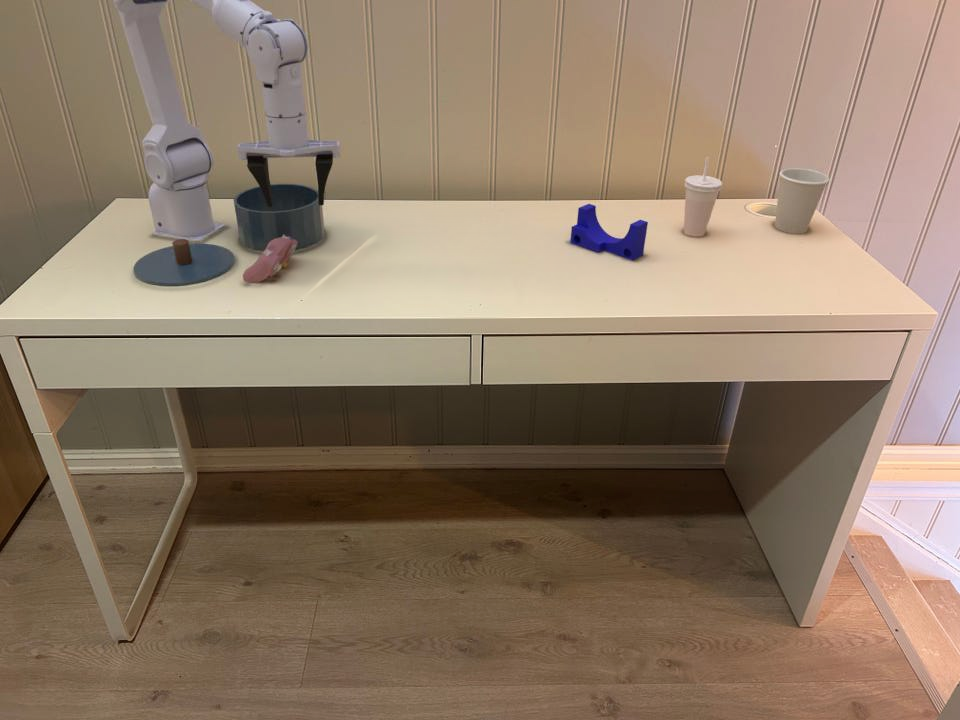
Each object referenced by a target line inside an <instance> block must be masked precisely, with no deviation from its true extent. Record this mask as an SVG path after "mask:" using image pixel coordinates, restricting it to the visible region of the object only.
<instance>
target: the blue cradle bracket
mask: <svg viewBox="0 0 960 720" xmlns="http://www.w3.org/2000/svg"><path fill="white" fill-rule="evenodd" d="M648 224H649V222H648V221H646V220H642V219H639V220H636V221H634V222H631V223H630V224H629V227H628V228H629V229H628V231H627V233H626V234H625V236H624V237H622V238H621V237H615V236H613V235H611V234H609V233H607V232H606V231H605V229H603V227H602V226H601V224H600V222H599V220H598V217H597V207H596V205H594V204H591V203H587V204H584V205H582V206H579V207H578V209H577V219H576V224H574V225H572V226H571V231H570V241H569V243H570V244H572V245H575V246H579V247H581V248H584V249H587V250H590V251H593V252H595V253H597V254H599V253H601V252H603V251H604V252H607V253H610V254H613V255H616V256H619V257H622V258H625V259H627V260H631V261H635V260H637V259H639V258H641V257H643V256H644V252H645V251H644V250H645V245H646V238H647V233H648V232H647V231H648Z"/></svg>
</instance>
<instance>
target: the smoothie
mask: <svg viewBox="0 0 960 720" xmlns="http://www.w3.org/2000/svg"><path fill="white" fill-rule="evenodd" d="M704 161H705V162H704V168H703V173H702V175H698V174H697V175H689V176H687V177H686V178H685V179H684V183H683V185H684V187H685V199H684V217H683V219H684V220H683V233H684V234H685V235H686V236H689V237H693V238H694V237H696V238H698V237H704V236H705V234H706V231H707V228H708V226H709V222H710V219H711V216H712V213H713V210H714V207H715V204H716V201H717V198H718V195H719V192H720V191H721V190H722V187H723V182H722V181H721V180H720V179H719V178H717V177H713V176H708V175H707V174H708V168H709V163H710V156H706V157H705V160H704Z"/></svg>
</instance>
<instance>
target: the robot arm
mask: <svg viewBox="0 0 960 720" xmlns="http://www.w3.org/2000/svg"><path fill="white" fill-rule="evenodd" d="M171 1H172V0H112V2H113V5H114V8H115V10H117V11H118V12H117V13H118V15H119V18H120V22H121V25H122V29H123V32H124V36H125V39H126V42H127V46H128V48H129V52H130V55H131V57H132V63H133V65H134V68H135V72H136V76H137V78H138V82H139V85H140V88H141V89H140V90H141V91H142V92H141V93H142V95H143V99H144V102H145V105H146V108H147V112H148V115H149V118H150V122H151V125H152V126H151V128H150V129H149V131H148V132H147V134H146V135H145V136H144V138H143V139H142V141H141V146H142V148H143V149H142V150H143V154H144V160H143V161H144V163H143V164H144V168H145V171H146V174H147V175H148V177H149V178H150V180H151V181H152V184H151V185H150V186H149V187H150V188H149V190H148V203H149V209H150V213H151V217H152V221H153V226H154V230H155V231H153V232H152V234H153V235H158V236H165V237H171V238H177V239H186V240H191V241H197V242H198V241H201V240H203V239H204V238H206V237H208V236H209V235H211V234H213V233H214V232H216V231H218V230H220V229H221V228H222V227H224V226H226V224H225V223H222V222H221V223H220V222H214V217H213V211H212V206H211V200H210V196H209V195H210V194H209V190H208V184H207V181H208V180H210V173H211V172H212V170H213V168H214V156H213V152H212V150H211V148H210V147H209V145H208V143H207V142H206V140H205V137H204V133H203V131H202V129H200V128H199V127H198V126H195V125H193V124H192V123H190V122H189V121H188V120H187V116H186V113H185V109H184V105H183V102H182V99H181V95H180V91H179V87H178V84H177V81H176V77H175V72H174V69H173V66H172V62H171V59H170V54H169V52H168V48H167V44H166V41H165V37H164V34H163V30H162V26H161V22H160V19H159V17H160V14H161V13H162V11H163V9H164V7H165V6H166V5H168V4H169V3H170V2H171ZM188 1H189V2H191V3H192V4H194V5H196V6H197V7H199V8H201V9H202V10H204V11H205V12H207V13H209V14H210V15H212V16H211V17H212V21H213V24H214V26H215V27H216V28H217V29H218V30H219V31H220V32H222V33H223V34H224V35H226V36H227V37H228V38H230V39H231V40H233V41H234V42H236V43H237V44H238V45H240V46H241V47H243V48H244V49H246V51H247V52H246V53H247V55H248V58H249V59H250V61H251V63H252V64H253V66H254V70H255V74H256V75H255V76H256V78H257V80H258V82H260V87H261V95H262V101H263V102H262V103H263V108H264V117H265V124H266V132H267V140H263V141H255V142H239V143H238V145H237V153H238V160H239V161H246V160H247V161H246V162H247V164H246V166H247V169H248V171H249V172H250V174H251V175H252V177H253V178H254V179H255V181H256V182H257V185H258V186H260V188H261V190H262V192H263V195H264V197H265V200H266V203H267V206H268V207H272V206H273V195H272V190H271V185H270V184H271V180H270V171H269V159H274V158H275V159H278V158H279V159H281V158H284V159H285V158H315V162H314V163H315V172H316V179H317V180H316V181H317V191H318V201H319V205H322V206H324V205H325V190H326V185H327V181H328V178H329V175H330V172H331V170H332V167H333V164H334V159H338V158H341V150H340V149H341V148H340V141H339V140H337V141H336V140H321V139H319V140H318V139H309V131H308V123H307V122H308V121H307V113H306V103H305V94H304V93H305V92H304V83H303V73H302V62H304V61H305V59H306V58H307V56H308V53H309V52H308V51H309V43H308V39H307V35H306V33H305V32H304V30H303V29H302V27H301V26H300V25H299V24H298V23H297V22H296V21H295V20H294V19H291V18H285V19H279V18H276V17H274V14H273V13H272V12H270V10H265V9H263V8H262V7H260V6H259V5H257V4H256V3H255V2H253V1H251V0H188Z"/></svg>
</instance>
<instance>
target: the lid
mask: <svg viewBox="0 0 960 720" xmlns="http://www.w3.org/2000/svg"><path fill="white" fill-rule="evenodd" d="M171 244H172V245H171V246H167V247H163V248H160V249H156V250H153V251H151V252H149V253H147V254H144V255H143V256H142V257H140V258H139V259H138V260H137V261H136V262H135V263H134V265H133V274H134V276H135V277H136V278H137V280H139V281H141V282H144V283H146V284H149V285H154V286H165V287H177V286H188V285H194V284H198V283H202V282H206V281H209V280H213V279H215V278H218V277H219V276H221V275H223V274H225V273H227V272H228V271H229V270H231V268H232V267H233V265H234V264H235V256H234V253H233V252H232V251H231V250H230V249H228V248H226V247H224V246H221V245H217V244H213V243H212V244H211V243H198V242H197V243H190V242H189V239H183V238H178V239H175V240H173V241H171Z"/></svg>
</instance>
